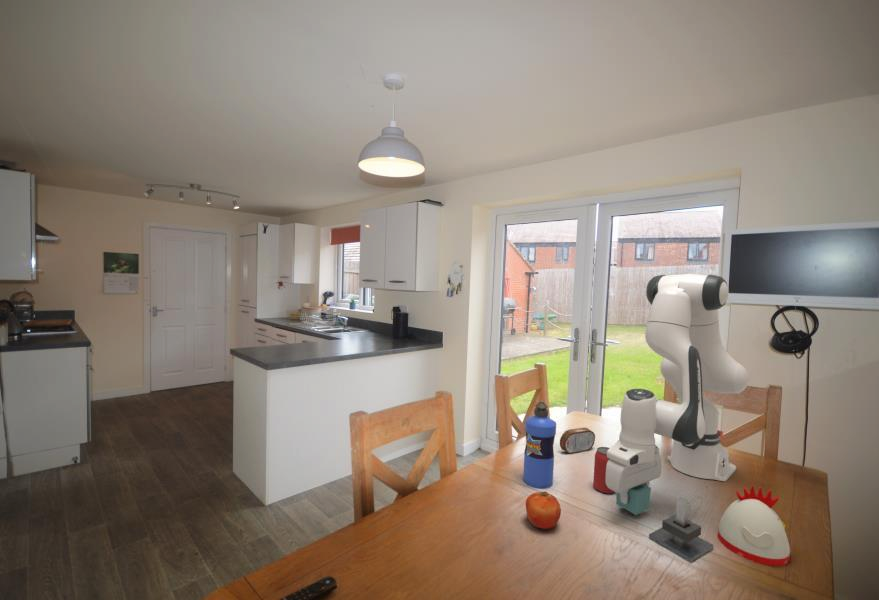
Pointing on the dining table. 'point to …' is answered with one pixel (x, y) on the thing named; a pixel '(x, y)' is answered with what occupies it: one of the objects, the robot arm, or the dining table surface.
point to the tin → (577, 440)
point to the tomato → (543, 510)
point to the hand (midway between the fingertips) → (633, 499)
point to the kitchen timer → (755, 529)
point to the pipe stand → (677, 545)
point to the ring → (681, 529)
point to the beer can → (601, 470)
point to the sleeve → (636, 499)
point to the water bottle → (539, 448)
